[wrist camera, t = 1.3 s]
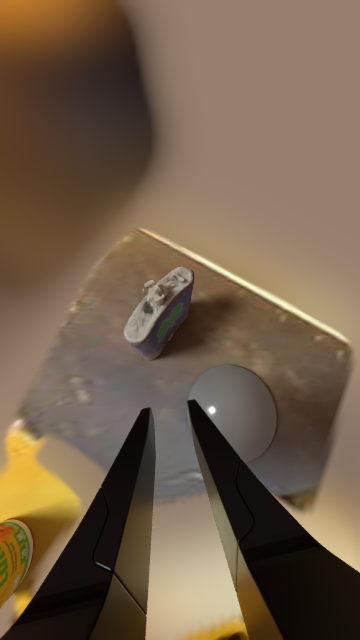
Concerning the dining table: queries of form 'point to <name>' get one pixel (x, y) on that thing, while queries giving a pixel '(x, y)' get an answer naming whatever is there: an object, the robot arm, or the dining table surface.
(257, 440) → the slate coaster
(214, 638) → the dining table surface
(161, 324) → the flask
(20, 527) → the supplement bottle
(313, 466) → the dining table surface
